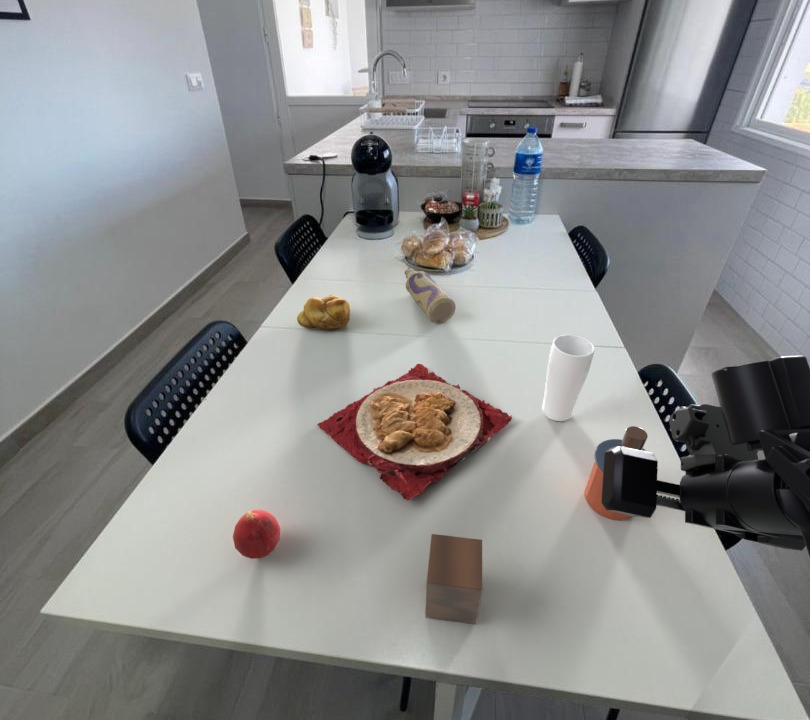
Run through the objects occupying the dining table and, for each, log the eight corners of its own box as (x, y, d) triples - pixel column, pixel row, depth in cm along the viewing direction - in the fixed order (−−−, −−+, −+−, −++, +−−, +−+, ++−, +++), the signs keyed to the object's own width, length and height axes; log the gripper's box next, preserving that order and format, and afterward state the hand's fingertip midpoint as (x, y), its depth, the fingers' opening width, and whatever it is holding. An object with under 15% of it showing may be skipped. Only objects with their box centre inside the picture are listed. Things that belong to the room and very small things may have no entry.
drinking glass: (579, 408, 83) (599, 341, 74) (569, 430, 78) (589, 361, 70) (543, 396, 86) (559, 330, 77) (532, 416, 81) (546, 348, 73)
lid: (668, 469, 61) (683, 439, 58) (632, 496, 57) (646, 465, 54) (617, 434, 66) (628, 404, 63) (582, 456, 63) (591, 426, 60)
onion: (291, 536, 62) (282, 500, 57) (270, 575, 57) (258, 539, 53) (254, 526, 63) (242, 490, 59) (231, 564, 59) (216, 528, 54)
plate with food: (512, 425, 80) (515, 410, 78) (408, 506, 65) (408, 490, 63) (419, 369, 94) (419, 355, 92) (316, 425, 80) (314, 410, 78)
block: (476, 575, 57) (482, 539, 53) (475, 624, 52) (482, 589, 48) (429, 569, 58) (431, 533, 53) (425, 617, 53) (426, 582, 48)
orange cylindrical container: (645, 503, 66) (663, 467, 61) (617, 529, 63) (634, 492, 58) (602, 472, 71) (616, 436, 66) (574, 495, 67) (586, 458, 63)
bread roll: (295, 334, 105) (290, 304, 100) (302, 314, 112) (297, 285, 108) (350, 333, 105) (347, 303, 100) (353, 313, 113) (351, 284, 108)
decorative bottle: (456, 321, 109) (458, 296, 105) (427, 326, 107) (428, 302, 103) (421, 277, 129) (421, 256, 125) (396, 281, 127) (395, 259, 123)
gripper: (864, 424, 39) (732, 445, 54) (652, 380, 39) (579, 413, 54) (880, 560, 35) (735, 543, 50) (647, 510, 36) (571, 508, 51)
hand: (653, 497), depth 52 cm, fingers open, 9 cm apart
